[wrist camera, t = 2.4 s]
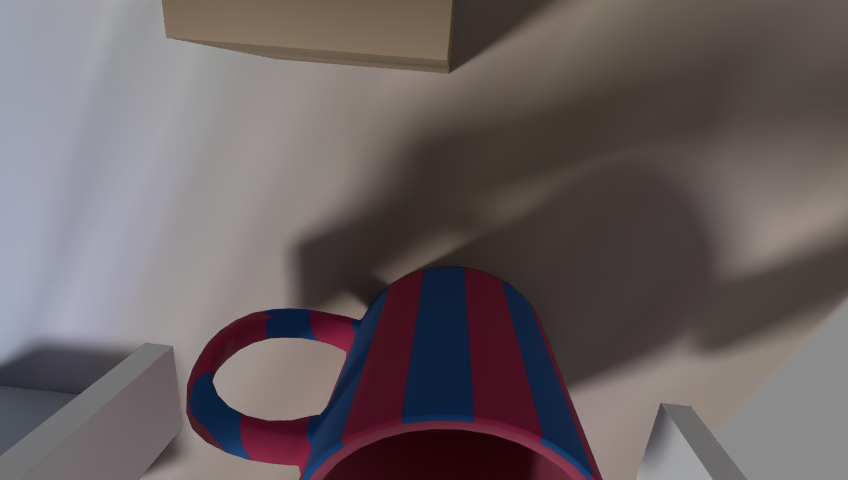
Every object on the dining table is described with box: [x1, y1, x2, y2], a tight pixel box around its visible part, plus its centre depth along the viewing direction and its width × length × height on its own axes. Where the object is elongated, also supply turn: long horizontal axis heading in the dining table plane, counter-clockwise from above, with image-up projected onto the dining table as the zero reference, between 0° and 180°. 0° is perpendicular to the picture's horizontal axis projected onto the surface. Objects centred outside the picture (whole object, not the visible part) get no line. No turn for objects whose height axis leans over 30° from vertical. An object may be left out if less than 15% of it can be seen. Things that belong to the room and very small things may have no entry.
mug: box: [186, 268, 603, 480], centre depth 12 cm, size 7×10×7 cm
